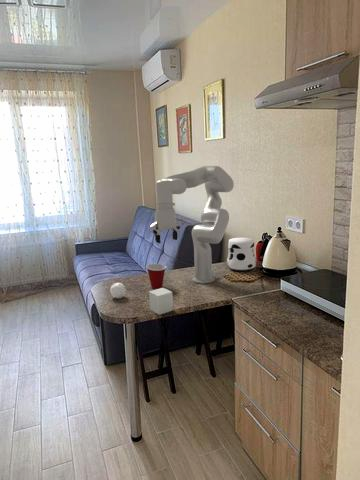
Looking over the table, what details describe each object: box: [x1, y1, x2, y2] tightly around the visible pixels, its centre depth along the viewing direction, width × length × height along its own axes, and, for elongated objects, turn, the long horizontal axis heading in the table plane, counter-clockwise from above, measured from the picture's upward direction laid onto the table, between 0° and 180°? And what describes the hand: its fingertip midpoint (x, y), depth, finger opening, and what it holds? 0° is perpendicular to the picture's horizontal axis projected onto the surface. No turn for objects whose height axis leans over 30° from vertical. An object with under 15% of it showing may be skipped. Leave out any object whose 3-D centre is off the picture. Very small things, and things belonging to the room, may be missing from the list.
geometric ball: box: [109, 282, 126, 300], centre depth 185 cm, size 8×8×8 cm
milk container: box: [226, 237, 257, 272], centre depth 223 cm, size 17×17×18 cm
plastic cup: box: [145, 263, 167, 290], centre depth 197 cm, size 11×11×12 cm
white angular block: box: [148, 287, 174, 315], centre depth 167 cm, size 8×8×9 cm
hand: (166, 241), depth 179 cm, fingers open, 9 cm apart
